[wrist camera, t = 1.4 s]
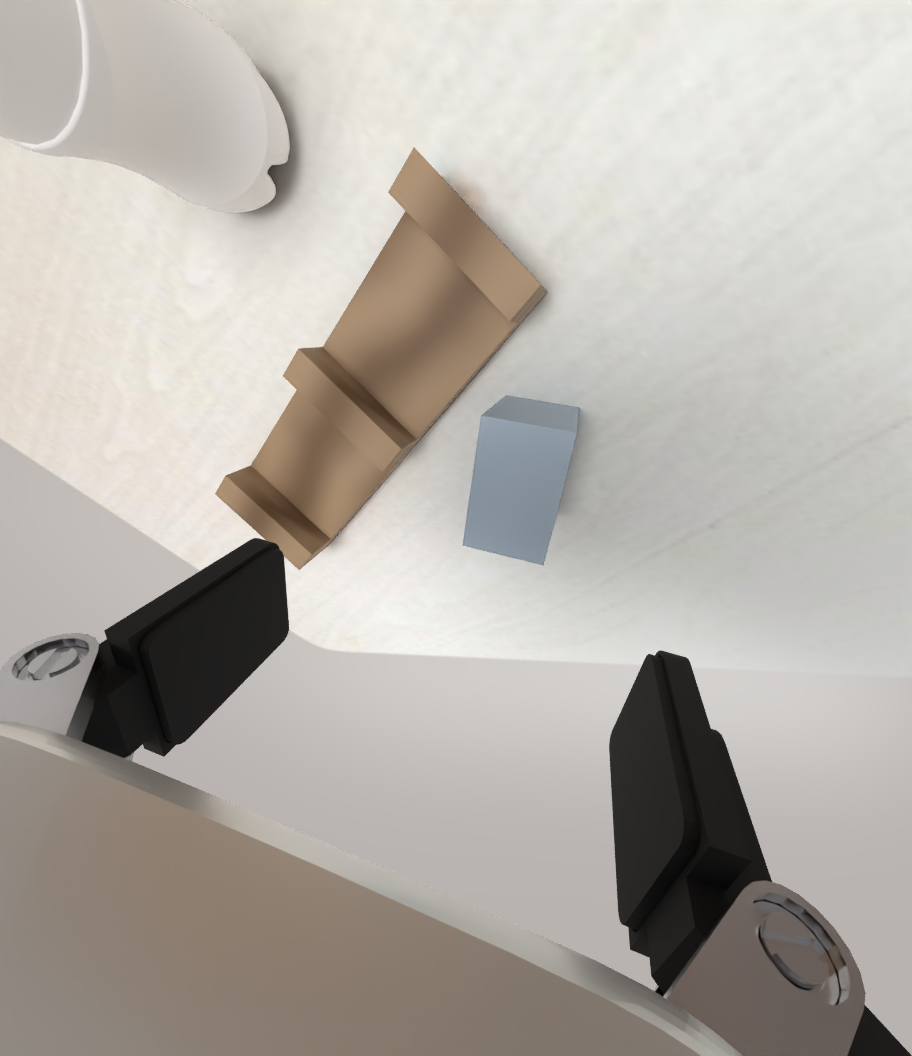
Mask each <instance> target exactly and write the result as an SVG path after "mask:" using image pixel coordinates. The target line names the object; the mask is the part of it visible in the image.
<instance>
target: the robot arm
mask: <svg viewBox="0 0 912 1056" xmlns="http://www.w3.org/2000/svg"><path fill="white" fill-rule="evenodd" d="M288 631H289V621H288V608H287V594H286V581H285V567H284V555H283V552H282V551H281V550H280V549H279V546H278V545H277V544H276V543H273V542H269V541H266V540H262V539H258V538H254V539H251V540H250V541H248V542H246V543H245V544H243V545H242V546H240V547H238V548H237V549H235V550H234V551H232V552H230V553H229V554H227V555H225V556H224V557H222V558H221V559H219V560H217V561H216V562H214V563H213V564H211V565H209V566H208V567H206V568H205V569H203V570H201V571H200V572H198V573H196V574H195V575H193V576H192V577H190V578H188V579H187V580H185V581H184V582H182V583H180V584H179V585H177V586H175V587H174V588H172V589H171V590H169V591H167V592H166V593H164V594H163V595H161V596H159V597H158V598H156V599H155V600H153V601H152V602H150V603H148V604H146V605H145V606H143V607H142V608H140V609H138V610H137V611H135V612H134V613H132V614H130V615H129V616H127V617H126V618H124V619H122V620H121V621H119V622H117V623H116V624H114V625H113V626H111V627H110V628H108V629H106V630H105V634H106V637H107V640H105V641H104V642H102V643H101V644H99V643H98V641H97V640H96V638H94V637H92V636H90V635H88V634H81V633H71V634H62V635H57V636H53V637H49V638H46V639H43V640H41V641H38V642H35V643H33V644H31V645H29V646H27V647H25V648H23V649H22V650H20V651H19V652H17V653H16V654H15V655H13V656H12V657H11V658H10V659H9V660H8V661H7V662H6V663H5V664H4V666H3V667H2V668H1V670H0V1056H911V1054H910V1053H909V1052H908V1051H907V1050H906V1049H905V1048H904V1047H903V1046H902V1045H901V1044H900V1043H899V1041H898V1040H897V1039H896V1038H895V1037H894V1036H893V1035H892V1034H891V1033H890V1032H889V1031H888V1030H887V1028H886V1027H884V1025H883V1024H882V1023H881V1022H880V1021H879V1020H878V1019H877V1018H876V1017H875V1015H874V1014H873V1013H872V1012H871V1011H870V1010H869V1009H868V1008H867V1007H866V1006H865V1005H864V1003H865V990H864V985H863V982H862V977H861V973H860V971H859V969H858V967H857V964H856V962H855V960H854V958H853V956H852V954H851V952H850V950H849V948H848V947H847V946H846V944H845V943H844V941H843V940H842V938H841V937H840V936H839V934H838V933H837V931H836V930H835V928H834V927H833V926H832V925H831V924H830V923H829V922H828V921H827V920H826V919H825V918H824V916H823V915H822V914H821V913H820V912H819V911H818V910H817V909H816V908H815V907H813V906H812V905H811V904H809V902H807V901H806V900H805V899H804V898H802V897H801V896H800V895H799V894H797V893H795V892H793V891H791V890H790V889H788V888H786V887H784V886H782V885H780V884H776V883H773V882H772V880H771V878H770V875H769V872H768V869H767V866H766V863H765V860H764V857H763V854H762V851H761V848H760V845H759V842H758V839H757V836H756V833H755V830H754V827H753V824H752V821H751V818H750V815H749V812H748V809H747V807H746V803H745V801H744V798H743V795H742V792H741V789H740V786H739V783H738V780H737V777H736V774H735V772H734V768H733V765H732V762H731V759H730V756H729V753H728V751H727V747H726V744H725V742H724V739H723V737H722V735H721V734H720V733H719V732H717V731H716V730H713V729H711V728H710V725H709V722H708V719H707V716H706V712H705V709H704V706H703V703H702V700H701V696H700V693H699V690H698V687H697V684H696V680H695V677H694V674H693V671H692V667H691V664H690V662H689V660H688V659H687V658H686V657H682V656H679V655H675V654H672V653H668V652H664V651H658V652H657V653H656V655H655V656H654V655H651V654H648V655H647V656H646V658H645V660H644V662H643V665H642V667H641V669H640V671H639V673H638V676H637V678H636V680H635V682H634V684H633V687H632V689H631V691H630V693H629V695H628V698H627V700H626V702H625V704H624V706H623V708H622V711H621V713H620V715H619V717H618V719H617V722H616V724H615V726H614V728H613V730H612V733H611V737H610V745H609V749H610V750H609V751H610V767H611V768H610V769H611V788H612V804H613V805H612V806H613V824H614V842H615V860H616V879H617V895H618V896H617V897H618V912H619V918H620V922H621V923H622V924H623V925H625V926H627V927H629V940H630V949H631V950H633V951H635V952H638V953H640V954H642V955H645V956H647V957H650V966H651V976H652V977H653V979H654V980H655V982H656V983H657V986H656V987H655V989H654V990H651V989H649V988H648V987H646V986H644V985H642V984H640V983H638V982H636V981H634V980H632V979H630V978H628V977H626V976H624V975H622V974H620V973H619V972H617V971H615V970H612V969H611V968H609V967H607V966H605V965H603V964H601V963H599V962H597V961H595V960H593V959H591V958H588V957H586V956H584V955H582V954H579V953H577V952H575V951H573V950H571V949H569V948H566V947H564V946H562V945H560V944H558V943H555V942H553V941H551V940H549V939H546V938H544V937H542V936H540V935H538V934H535V933H533V932H531V931H529V930H527V929H524V928H522V927H520V926H518V925H515V924H513V923H511V922H509V921H507V920H504V919H502V918H500V917H498V916H495V915H493V914H491V913H488V912H486V911H484V910H481V909H479V908H477V907H474V906H472V905H469V904H467V903H465V902H463V901H460V900H458V899H456V898H453V897H451V896H449V895H446V894H444V893H442V892H440V891H437V890H435V889H432V888H430V887H428V886H425V885H423V884H421V883H419V882H416V881H414V880H412V879H409V878H407V877H405V876H402V875H400V874H398V873H395V872H393V871H390V870H388V869H386V868H384V867H381V866H379V865H377V864H374V863H372V862H370V861H367V860H365V859H363V858H360V857H358V856H355V855H353V854H351V853H349V852H346V851H344V850H341V849H339V848H337V847H334V846H332V845H330V844H327V843H325V842H323V841H320V840H318V839H316V838H313V837H311V836H309V835H306V834H304V833H301V832H299V831H297V830H294V829H292V828H290V827H287V826H285V825H283V824H280V823H278V822H275V821H273V820H271V819H268V818H266V817H263V816H261V815H259V814H256V813H254V812H252V811H249V810H247V809H244V808H242V807H240V806H237V805H235V804H233V803H230V802H228V801H226V800H223V799H220V798H218V797H216V796H214V795H211V794H209V793H206V792H204V791H201V790H199V789H197V788H194V787H192V786H190V785H187V784H185V783H182V782H180V781H178V780H175V779H173V778H170V777H168V776H166V775H163V774H161V773H158V772H156V771H154V770H151V769H149V768H146V767H144V766H141V765H139V764H137V763H134V762H132V758H133V754H134V751H135V750H136V749H138V748H139V747H140V746H141V745H142V744H143V746H144V748H145V749H147V750H149V751H152V752H154V753H156V754H159V755H161V756H165V755H166V754H167V753H168V752H169V751H170V750H171V749H172V748H173V747H174V746H175V745H176V744H181V743H183V742H185V741H186V740H187V739H188V738H189V737H190V736H191V735H192V734H193V733H194V732H195V731H196V730H197V729H198V728H199V727H200V726H201V725H202V724H203V723H204V722H205V721H206V720H207V719H208V718H209V717H210V716H211V715H212V714H213V713H214V712H215V710H217V708H219V707H220V706H221V705H222V703H224V701H225V700H226V699H227V698H228V697H229V696H230V695H231V694H232V693H233V692H234V691H235V690H236V689H237V688H238V687H239V686H240V685H241V684H242V683H243V682H244V681H245V680H246V679H247V678H248V677H249V676H250V675H251V674H252V673H253V671H255V670H256V669H257V668H258V667H259V666H260V665H261V664H262V663H263V662H264V661H265V659H267V658H268V656H269V655H270V654H271V653H272V652H273V651H274V650H275V649H276V648H277V647H278V646H279V645H280V644H281V643H282V642H283V641H284V640H285V638H286V636H287V634H288Z"/></svg>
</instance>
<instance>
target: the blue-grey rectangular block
mask: <svg viewBox="0 0 912 1056" xmlns="http://www.w3.org/2000/svg"><path fill="white" fill-rule="evenodd" d="M578 415H579V408H577V407H571V406H566V405H560V404H554V403H548V402H542V401H536V400H530V399H524V398H518V397H512V396H505V397H504V398H503V399H501V400H500V401H499V402H498V403H496V404H495V405H494V406H493V407H491V408H490V409H489V410H488V411H487V412H485V413H484V414H483V415H482V416H481V422H480V429H479V436H478V443H477V450H476V457H475V464H474V470H473V477H472V484H471V491H470V498H469V505H468V512H467V519H466V526H465V533H464V540H463V546H467V547H471V548H475V549H479V550H483V551H487V552H492V553H496V554H500V555H504V556H508V557H512V558H516V559H520V560H524V561H528V562H532V563H537V564H541V565H544V561H545V557H546V553H547V549H548V545H549V541H550V539H551V535H552V531H553V527H554V523H555V519H556V515H557V511H558V507H559V503H560V499H561V495H562V491H563V487H564V483H565V479H566V476H567V472H568V468H569V464H570V460H571V456H572V452H573V447H574V443H575V439H576V435H577V427H578Z"/></svg>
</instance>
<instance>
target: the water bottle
mask: <svg viewBox="0 0 912 1056" xmlns="http://www.w3.org/2000/svg"><path fill="white" fill-rule="evenodd" d="M0 136H2V137H3V138H4V139H6V140H8V141H10V142H11V143H13V144H15V145H17V146H20V147H23V148H25V149H28V150H31V151H34V152H38V153H42V154H46V155H52V156H61V157H77V158H85V159H93V160H99V161H103V162H108V163H111V164H114V165H118V166H121V167H124V168H126V169H129V170H131V171H134V172H136V173H139V174H141V175H143V176H145V177H147V178H149V179H151V180H153V181H154V182H156V183H158V184H159V185H161V186H163V187H165V188H166V189H168V190H170V191H171V192H173V193H174V194H176V195H177V196H179V197H180V198H182V199H184V200H186V201H188V202H191V203H194V204H197V205H200V206H203V207H206V208H209V209H212V210H216V211H221V212H229V213H243V212H248V211H252V210H255V209H258V208H260V207H262V206H264V205H266V204H267V203H269V202H270V201H271V200H273V198H274V197H275V195H276V187H275V184H274V183H273V181H272V179H271V177H270V176H269V175H268V174H267V173H268V169H269V168H270V167H271V166H272V165H280V164H284V163H286V162H287V161H288V155H289V150H290V141H289V133H288V128H287V124H286V121H285V117H284V115H283V112H282V110H281V107H280V105H279V103H278V101H277V100H276V98H275V96H274V94H273V93H272V91H271V89H270V88H269V86H268V84H267V83H266V81H265V80H264V79H263V78H262V76H261V75H260V73H259V72H258V70H257V68H256V66H255V65H254V63H253V62H252V60H251V59H250V57H249V56H248V54H247V53H246V51H245V50H244V49H243V47H241V46H240V45H239V44H238V43H237V42H236V41H235V40H234V39H233V38H232V37H231V36H230V35H229V34H227V33H226V32H225V31H224V30H223V29H221V28H220V27H219V26H218V25H217V24H215V23H214V22H213V21H212V20H211V19H209V18H208V17H207V16H205V15H204V14H203V13H201V12H199V11H198V10H196V9H194V8H192V7H190V6H188V5H185V4H183V3H180V2H178V1H176V0H0Z"/></svg>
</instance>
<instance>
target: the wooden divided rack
mask: <svg viewBox="0 0 912 1056" xmlns="http://www.w3.org/2000/svg"><path fill="white" fill-rule="evenodd" d="M388 193H389V194H390V195H391V196H392V197H393V198H394V199H395V200H396V201H397V202H398V203H399V204H400V205H401V206H402V207H403V208H404V209H405V213H404V215H403V216H402V218H401V220H400V221H399V223H398V224H397V226H396V228H395V229H394V231H393V233H392V234H391V236H390V238H389V239H388V241H387V243H386V244H385V246H384V247H383V249H382V251H381V252H380V254H379V256H378V257H377V259H376V261H375V262H374V264H373V266H372V267H371V269H370V271H369V272H368V274H367V275H366V277H365V279H364V280H363V282H362V284H361V285H360V287H359V289H358V290H357V292H356V294H355V295H354V297H353V298H352V300H351V302H350V303H349V305H348V307H347V308H346V310H345V312H344V313H343V315H342V317H341V318H340V320H339V322H338V323H337V325H336V326H335V328H334V330H333V331H332V333H331V335H330V336H329V338H328V340H327V341H326V343H325V345H324V346H323V347H319V348H302V349H298V350H297V352H296V354H295V356H294V357H293V359H292V361H291V363H290V364H289V366H288V368H287V370H286V371H285V373H284V375H283V377H285V378H286V379H287V380H288V381H289V382H290V383H291V384H292V385H293V386H294V387H295V388H296V389H297V391H296V392H295V394H294V396H293V397H292V399H291V401H290V402H289V404H288V405H287V407H286V409H285V410H284V412H283V414H282V415H281V417H280V419H279V420H278V422H277V424H276V425H275V427H274V428H273V430H272V432H271V433H270V435H269V437H268V438H267V440H266V442H265V443H264V445H263V447H262V448H261V450H260V452H259V453H258V455H257V456H256V458H255V460H254V461H253V463H252V465H251V466H249V467H246V468H244V469H241V470H239V471H236V472H234V473H231V474H229V475H226V476H225V478H224V479H223V481H222V483H221V485H220V486H219V488H218V490H217V492H216V493H215V494H216V495H217V496H218V497H219V498H220V499H221V500H222V501H223V502H225V503H226V504H227V505H228V506H229V507H230V508H231V509H232V510H233V511H235V512H236V513H237V514H238V515H239V516H240V517H241V518H242V519H243V520H245V521H246V522H247V523H248V524H249V525H250V526H251V527H252V528H253V529H254V530H256V531H257V532H258V533H259V534H260V535H261V536H262V537H263V538H264V539H266V540H267V541H269V542H273V543H276V544H277V545H278V546H279V549H280V550H281V551H282V552H283V555H284V557H285V558H287V559H288V560H289V561H290V562H291V563H292V564H293V565H294V566H295V567H297V568H298V569H299V570H300V569H301V568H302V567H303V566H304V565H306V564H307V563H308V562H309V561H310V560H312V559H313V558H314V557H315V556H316V555H318V554H319V553H320V552H321V551H322V550H324V549H325V548H326V547H327V546H328V545H329V544H330V543H331V542H332V541H333V540H334V539H335V537H336V536H337V535H338V534H339V533H340V532H341V530H342V529H343V528H344V527H345V526H346V525H347V524H348V522H349V521H350V520H351V519H352V518H353V517H354V515H355V514H356V513H357V512H358V511H359V510H360V508H361V507H362V506H363V505H364V504H365V503H366V502H367V500H368V499H369V498H370V497H371V496H372V495H373V493H374V492H375V491H376V490H377V489H378V488H379V487H380V485H381V484H382V483H383V482H384V481H385V480H386V478H387V477H388V476H389V475H390V474H391V473H392V471H393V470H394V469H395V468H396V467H397V466H398V465H399V463H400V462H401V461H402V460H403V459H404V458H405V456H406V455H407V454H408V453H409V452H410V451H411V449H412V448H413V447H414V446H415V445H416V444H417V443H418V441H419V440H420V439H421V438H422V437H423V436H424V434H425V433H426V432H427V431H428V430H429V429H430V428H431V426H432V425H433V424H434V423H435V422H436V421H437V419H438V418H439V417H440V416H441V415H442V414H443V412H444V411H445V410H446V409H447V408H448V407H449V406H450V404H451V403H452V402H453V401H454V400H455V399H456V397H457V396H458V395H459V394H460V393H461V392H462V390H463V389H464V388H465V387H466V386H467V385H468V384H469V382H470V381H471V380H472V379H473V378H474V377H475V375H476V374H477V373H478V372H479V371H480V370H481V369H482V367H483V366H484V365H485V364H486V363H487V362H488V360H489V359H490V358H491V357H492V356H493V355H494V353H495V352H496V351H497V350H498V349H499V348H500V347H501V345H502V344H503V343H504V342H505V341H506V340H507V338H508V337H509V336H510V335H511V334H512V333H513V332H514V330H515V329H516V328H517V327H518V326H519V325H520V323H521V322H522V321H523V320H524V319H525V318H526V316H527V315H528V314H529V313H530V312H531V311H532V310H533V308H534V307H535V306H536V305H537V304H538V303H539V301H540V300H541V299H542V298H543V297H544V296H545V294H546V293H547V291H546V290H545V288H544V287H543V286H542V285H541V284H540V283H539V282H538V281H537V280H536V279H535V278H534V277H533V275H532V274H531V273H530V272H529V271H528V270H527V269H526V268H525V267H524V266H523V265H522V264H521V262H520V261H519V260H518V259H517V258H516V257H515V256H514V255H513V254H512V253H511V252H510V250H509V249H508V248H507V247H506V246H505V245H504V244H503V243H502V242H501V241H500V240H499V239H498V237H497V236H496V235H495V234H494V233H493V232H492V231H491V230H490V229H489V228H488V227H487V226H486V224H485V223H484V222H483V221H482V220H481V219H480V218H479V217H478V216H477V215H476V214H475V213H474V211H473V210H472V209H471V208H470V207H469V206H468V205H467V204H466V203H465V202H464V201H463V200H462V198H461V197H460V196H459V195H458V194H457V193H456V192H455V191H454V190H453V189H452V188H451V186H450V185H449V184H448V183H447V182H446V181H445V180H444V179H443V178H442V177H441V176H440V175H439V174H438V172H437V171H436V170H435V169H434V168H433V167H432V166H431V165H430V164H429V163H428V162H427V161H426V160H425V159H424V157H423V156H422V155H421V154H420V153H419V152H418V151H417V150H416V149H415V148H413V150H412V152H411V153H410V155H409V157H408V159H407V160H406V162H405V164H404V166H403V167H402V169H401V171H400V173H399V174H398V176H397V178H396V180H395V181H394V183H393V185H392V187H391V188H390V190H389V192H388Z"/></svg>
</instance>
